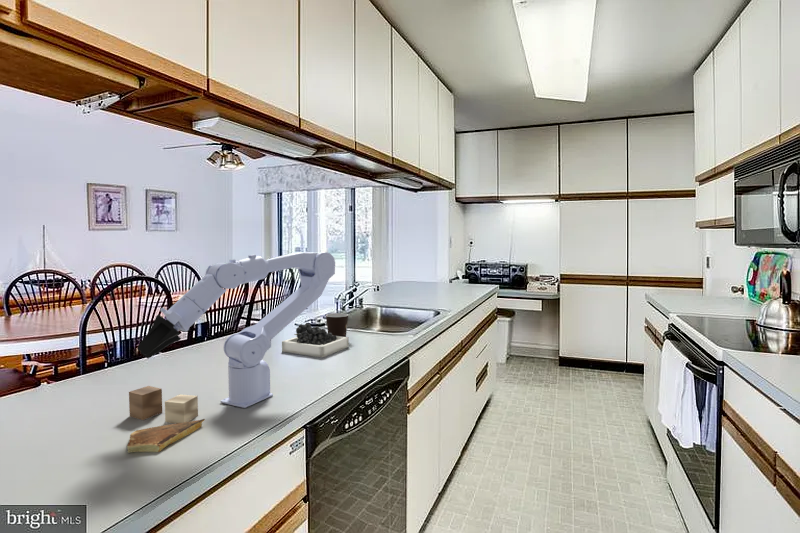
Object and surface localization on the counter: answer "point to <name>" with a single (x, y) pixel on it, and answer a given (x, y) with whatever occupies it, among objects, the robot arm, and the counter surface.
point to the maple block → (181, 408)
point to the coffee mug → (337, 324)
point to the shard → (160, 436)
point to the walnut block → (145, 402)
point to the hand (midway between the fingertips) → (142, 353)
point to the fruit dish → (315, 347)
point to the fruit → (313, 335)
